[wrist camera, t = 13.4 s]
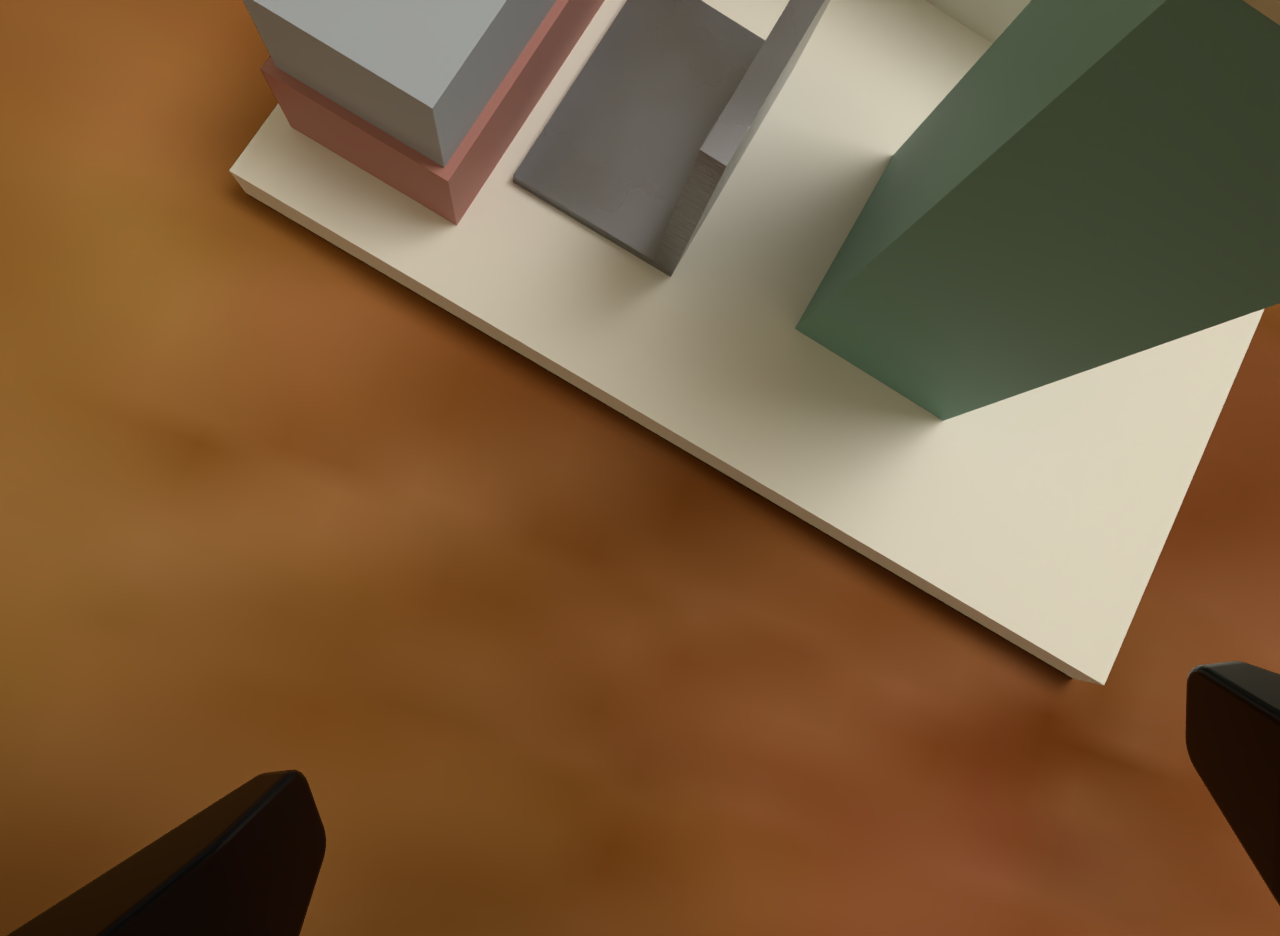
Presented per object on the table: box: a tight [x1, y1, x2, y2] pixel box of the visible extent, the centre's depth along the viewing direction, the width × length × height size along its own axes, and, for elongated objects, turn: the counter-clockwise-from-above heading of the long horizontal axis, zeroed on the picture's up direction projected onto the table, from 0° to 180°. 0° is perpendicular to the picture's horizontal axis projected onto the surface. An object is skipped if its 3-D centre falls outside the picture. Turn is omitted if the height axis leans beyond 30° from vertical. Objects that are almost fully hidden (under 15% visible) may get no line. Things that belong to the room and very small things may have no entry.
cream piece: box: [229, 0, 1265, 685], centre depth 17 cm, size 14×22×6 cm, turn 61°
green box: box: [795, 0, 1280, 421], centre depth 12 cm, size 5×4×13 cm
